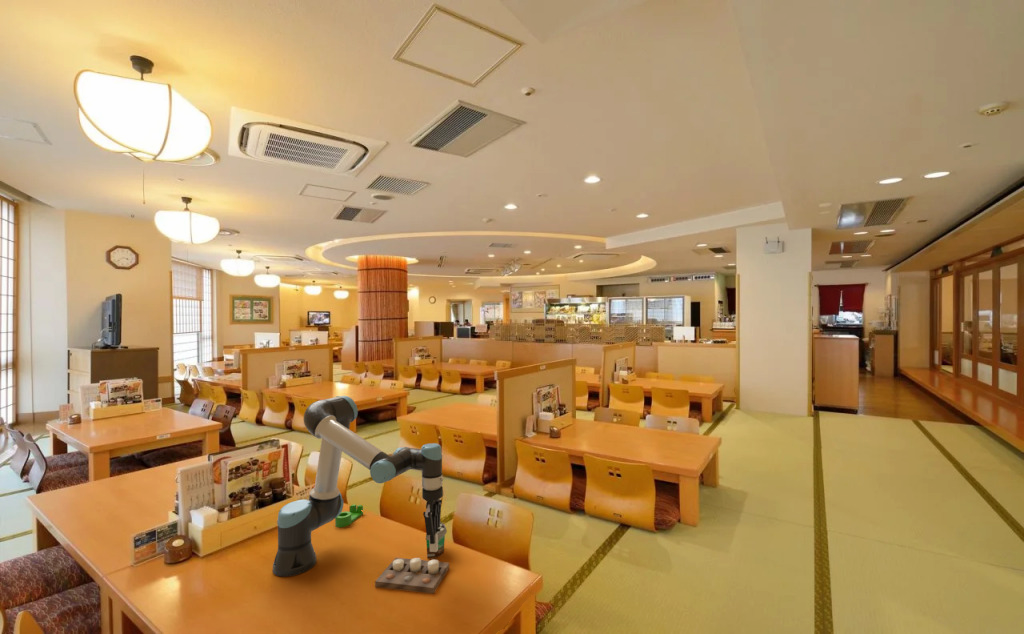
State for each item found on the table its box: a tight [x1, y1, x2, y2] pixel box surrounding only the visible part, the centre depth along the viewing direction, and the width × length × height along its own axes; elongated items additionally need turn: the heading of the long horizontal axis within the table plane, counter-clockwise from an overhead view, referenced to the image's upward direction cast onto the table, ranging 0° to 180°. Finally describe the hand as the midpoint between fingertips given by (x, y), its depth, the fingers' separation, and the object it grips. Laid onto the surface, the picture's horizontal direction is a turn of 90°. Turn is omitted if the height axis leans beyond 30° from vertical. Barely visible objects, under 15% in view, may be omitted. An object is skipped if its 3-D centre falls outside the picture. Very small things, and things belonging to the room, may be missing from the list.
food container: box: [425, 521, 448, 559], centre depth 178 cm, size 12×6×10 cm, turn 168°
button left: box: [392, 559, 404, 571], centre depth 164 cm, size 4×4×3 cm
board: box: [374, 557, 450, 595], centre depth 161 cm, size 22×16×2 cm
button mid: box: [410, 557, 422, 573], centre depth 163 cm, size 4×4×3 cm
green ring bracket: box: [334, 503, 364, 528], centre depth 209 cm, size 15×7×5 cm, turn 167°
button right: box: [428, 559, 440, 575], centre depth 161 cm, size 4×4×3 cm
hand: (433, 550), depth 161 cm, fingers closed
